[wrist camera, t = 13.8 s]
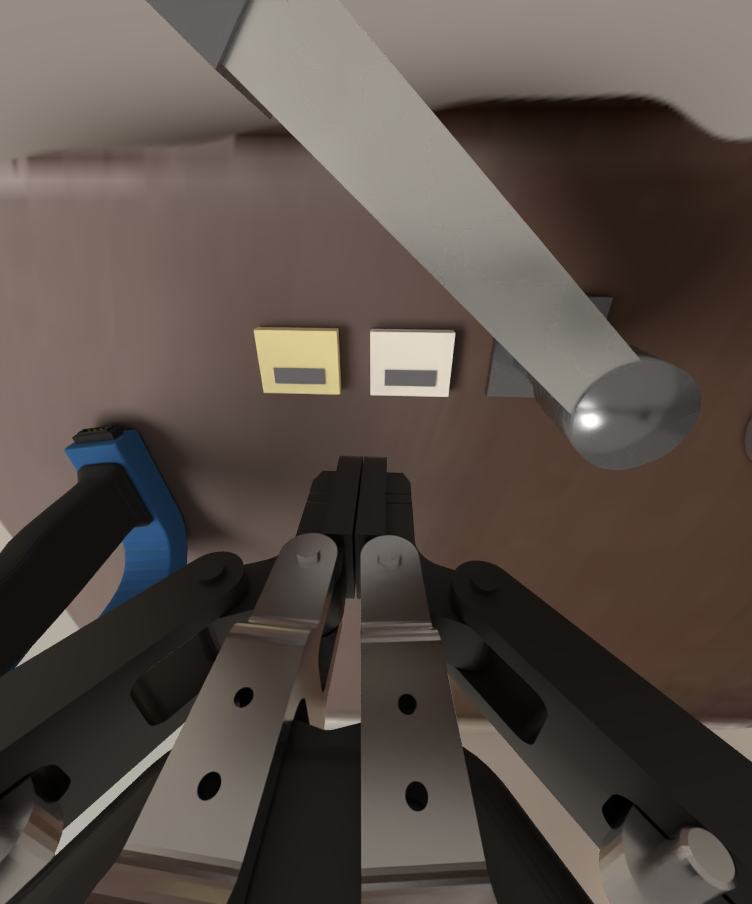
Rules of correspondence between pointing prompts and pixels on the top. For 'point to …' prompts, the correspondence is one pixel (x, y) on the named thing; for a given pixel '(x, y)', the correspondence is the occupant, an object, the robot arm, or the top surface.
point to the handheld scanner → (89, 538)
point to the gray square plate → (510, 374)
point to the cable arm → (444, 216)
